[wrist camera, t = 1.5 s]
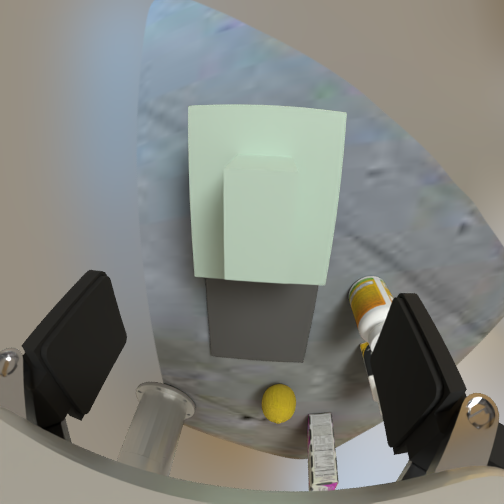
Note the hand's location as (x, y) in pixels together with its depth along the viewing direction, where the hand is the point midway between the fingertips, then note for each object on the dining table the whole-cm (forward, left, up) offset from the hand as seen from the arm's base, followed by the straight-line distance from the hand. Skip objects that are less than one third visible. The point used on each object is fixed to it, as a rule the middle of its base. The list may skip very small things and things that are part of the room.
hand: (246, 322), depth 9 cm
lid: (0, 0, -16) cm, 16 cm away
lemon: (-34, -4, -24) cm, 42 cm away
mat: (-18, 0, -24) cm, 30 cm away
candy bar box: (-49, -14, -24) cm, 57 cm away
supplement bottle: (-14, -14, -24) cm, 31 cm away
